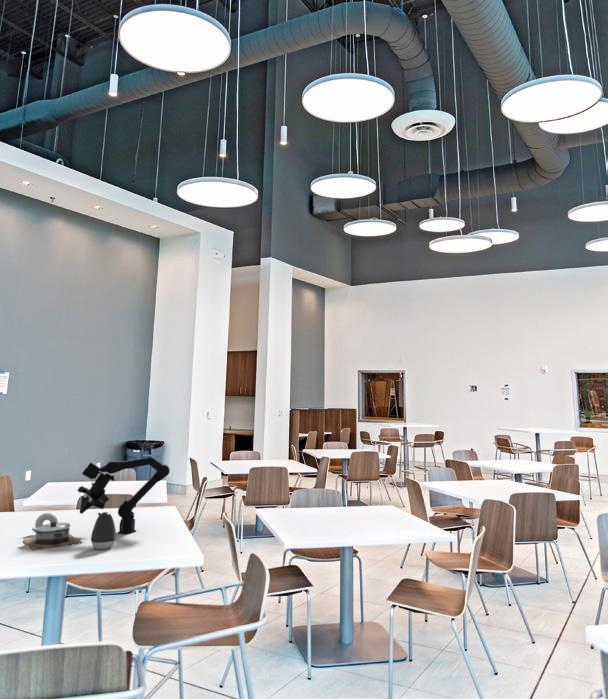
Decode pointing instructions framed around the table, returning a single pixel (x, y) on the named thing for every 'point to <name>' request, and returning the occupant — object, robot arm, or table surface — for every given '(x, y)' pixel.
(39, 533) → the cooking pot
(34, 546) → the walnut trivet
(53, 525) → the cooker lid
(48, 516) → the donut
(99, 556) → the table surface
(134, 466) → the robot arm
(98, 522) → the dark grey egg shape
